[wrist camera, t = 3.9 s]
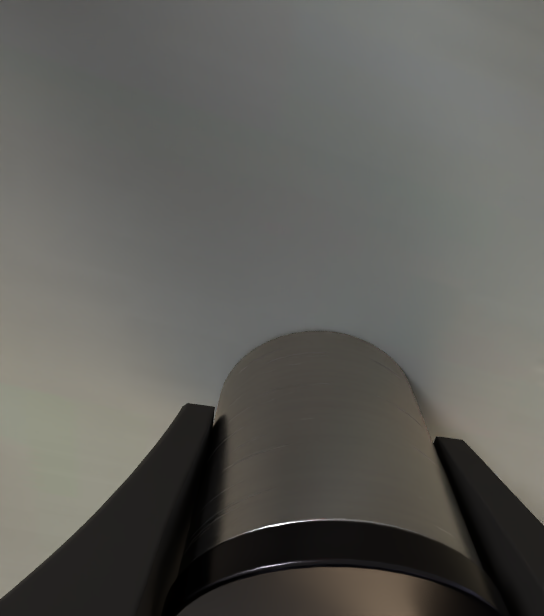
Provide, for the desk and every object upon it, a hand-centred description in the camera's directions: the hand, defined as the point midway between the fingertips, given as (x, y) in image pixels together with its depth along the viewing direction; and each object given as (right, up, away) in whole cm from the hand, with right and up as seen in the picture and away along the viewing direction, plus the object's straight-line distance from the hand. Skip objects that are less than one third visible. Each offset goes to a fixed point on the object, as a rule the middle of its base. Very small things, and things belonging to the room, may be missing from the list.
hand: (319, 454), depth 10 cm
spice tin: (0, +1, +1) cm, 1 cm away
